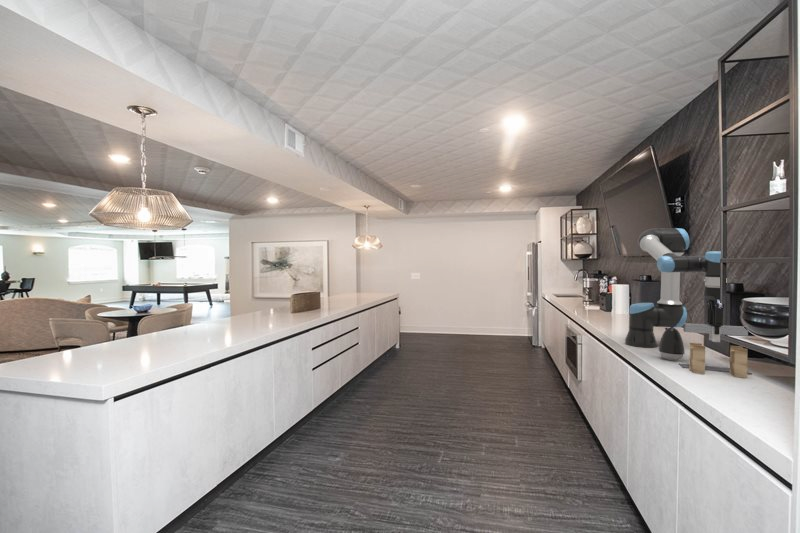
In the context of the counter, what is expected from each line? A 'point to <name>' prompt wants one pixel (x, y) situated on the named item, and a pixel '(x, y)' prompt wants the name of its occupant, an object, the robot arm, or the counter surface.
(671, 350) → the black tapered rounded piece
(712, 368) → the mat
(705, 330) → the rail
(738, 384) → the counter surface
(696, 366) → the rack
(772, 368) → the counter surface
